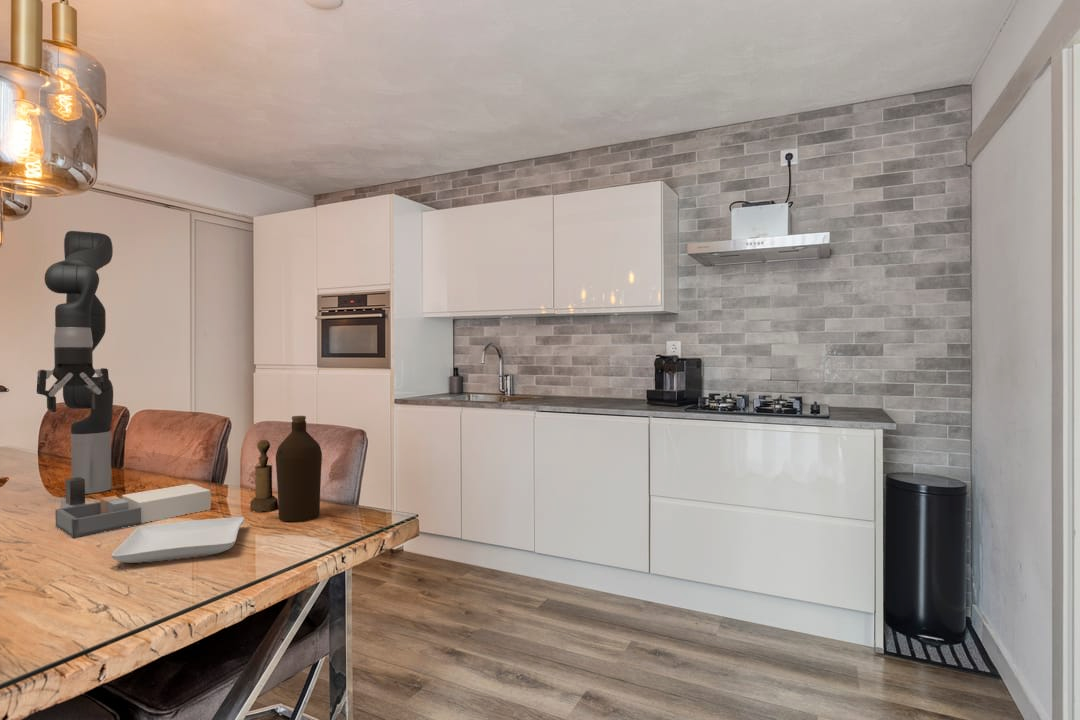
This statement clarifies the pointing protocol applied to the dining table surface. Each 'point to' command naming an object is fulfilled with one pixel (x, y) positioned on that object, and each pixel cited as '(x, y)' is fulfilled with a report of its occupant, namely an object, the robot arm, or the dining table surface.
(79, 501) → the scraper
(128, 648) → the dining table surface
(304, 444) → the olive oil
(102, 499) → the tan block
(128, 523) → the box
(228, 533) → the salad plate
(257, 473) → the brown chess piece
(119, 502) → the pale grey box
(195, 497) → the long rectangular box
